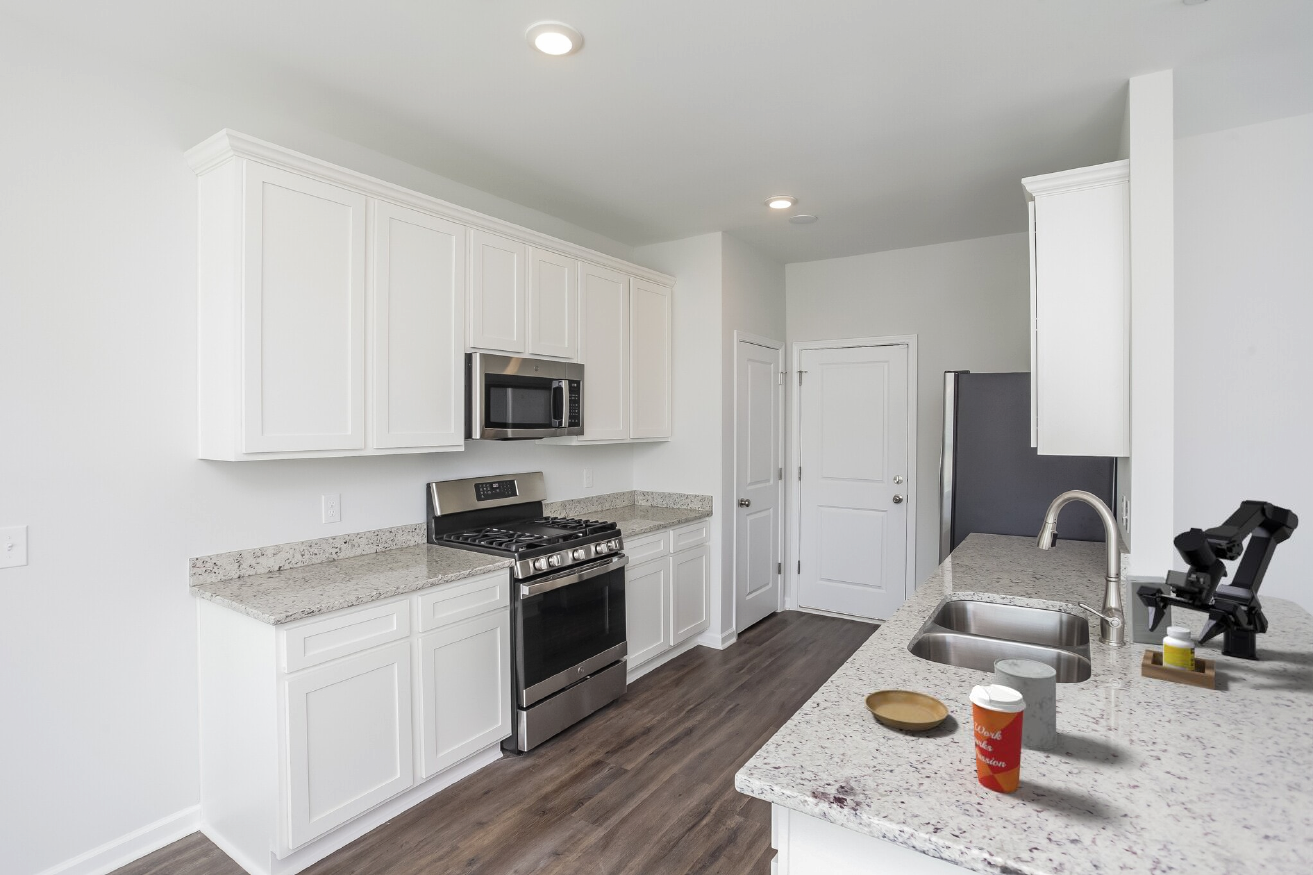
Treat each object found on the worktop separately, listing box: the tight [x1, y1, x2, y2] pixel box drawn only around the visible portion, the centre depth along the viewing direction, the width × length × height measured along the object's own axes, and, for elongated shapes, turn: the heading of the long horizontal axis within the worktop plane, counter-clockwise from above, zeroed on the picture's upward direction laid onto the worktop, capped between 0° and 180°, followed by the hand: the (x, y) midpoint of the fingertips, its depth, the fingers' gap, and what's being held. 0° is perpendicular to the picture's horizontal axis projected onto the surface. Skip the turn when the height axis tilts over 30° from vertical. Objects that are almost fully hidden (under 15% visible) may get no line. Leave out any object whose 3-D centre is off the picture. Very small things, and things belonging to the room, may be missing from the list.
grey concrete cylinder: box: [993, 657, 1058, 751], centre depth 115 cm, size 10×10×12 cm
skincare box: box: [1125, 574, 1173, 645], centre depth 163 cm, size 8×7×16 cm
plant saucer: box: [864, 689, 950, 732], centre depth 124 cm, size 15×15×3 cm
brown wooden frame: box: [1140, 648, 1216, 691], centre depth 142 cm, size 12×12×2 cm
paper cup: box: [969, 683, 1026, 794], centre depth 101 cm, size 8×8×14 cm
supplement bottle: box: [1162, 626, 1196, 672], centre depth 142 cm, size 5×5×10 cm
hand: (1174, 636), depth 141 cm, fingers open, 9 cm apart
